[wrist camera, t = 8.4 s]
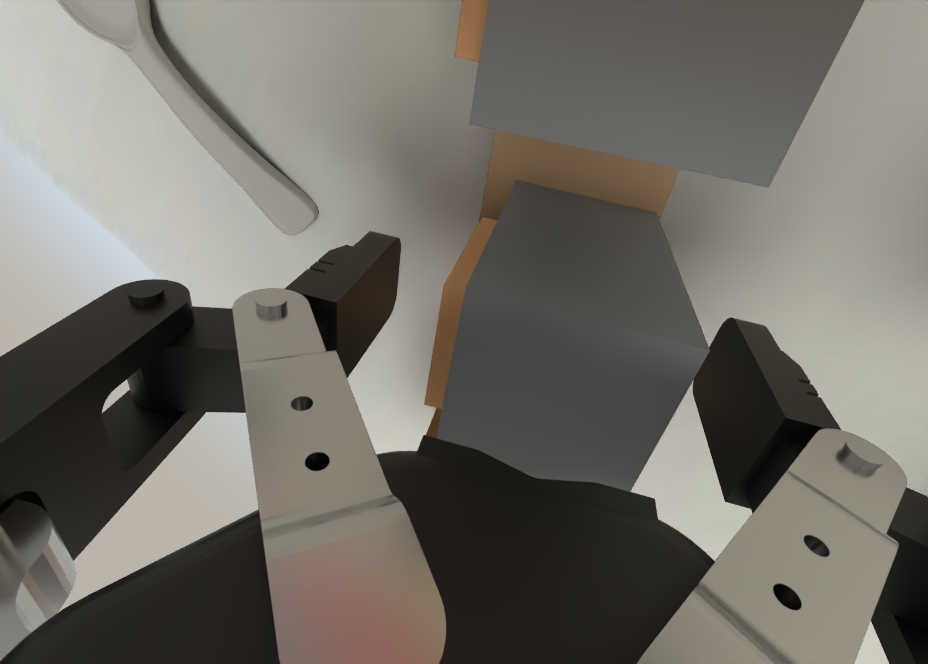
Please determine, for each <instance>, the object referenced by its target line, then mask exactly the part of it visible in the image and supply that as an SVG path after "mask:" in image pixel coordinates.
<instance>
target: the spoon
mask: <svg viewBox="0 0 928 664" xmlns="http://www.w3.org/2000/svg"><path fill="white" fill-rule="evenodd" d="M56 1H57V2H58V3H59V4H60V6H61V7H62V8H63V9H64V10H65V11H66V12H67V13H68V14H69V15H70V16H71V17H72V18H73V19H74V20H75V21H76V22H77V23H78V24H79V25H80V26H82V27H83V28H84V29H85V30H87V31H88V32H90V33H91V34H93V35H94V36H96V37H98V38H100V39H102V40H104V41H107V42H109V43H111V44H114V45H115V46H117V47H119V48H120V49H121V50H123V51H124V52H125V53H126V54H127V55H128V56H129V57H130V58H131V59H132V60H133V62H134V63H135V64H136V65H137V66H138V68H139V69H140V70H141V71H142V73H143V74H144V75H145V76H146V78H147V79H148V80H149V81H150V83H151V84H152V85H153V86H154V88H155V89H156V90H157V92H158V93H159V94H160V95H161V97H162V98H163V99H164V100H165V102H166V103H167V104H168V105H169V107H170V108H171V109H172V111H173V112H174V113H175V114H176V115H177V117H178V118H179V119H180V120H181V121H182V123H183V124H184V125H185V126H186V128H187V129H188V130H189V131H190V132H191V134H192V135H193V136H194V137H195V138H196V139H197V140H198V141H199V142H200V144H201V145H202V146H203V147H204V148H205V149H206V150H207V151H208V152H209V153H210V154H211V156H212V157H213V158H214V159H215V160H216V161H217V162H218V163H219V164H220V165H221V166H222V167H223V168H224V169H225V170H226V171H227V172H228V173H229V174H230V175H231V177H232V178H233V179H234V180H235V181H236V182H237V183H238V184H239V185H240V186H241V187H242V188H243V189H244V190H245V192H246V193H247V194H248V195H249V196H250V197H251V199H252V200H253V201H254V202H255V203H256V204H257V206H258V207H259V208H260V209H261V210H262V211H263V213H264V214H265V215H266V216H267V217H268V218H269V219H270V220H271V222H272V223H273V224H274V225H275V226H276V227H277V228H278V229H280V230H281V231H282V232H283V233H285V234H287V235H296V234H298V233H300V232H301V231H303V230H304V229H305V228H307V227H308V226H309V225H310V224H311V223H312V222H313V221H314V220H315V219H316V218H317V216H318V213H319V212H318V208H317V206H316V204H315V203H314V202H313V201H312V200H311V198H310V197H309V196H307V195H306V194H305V193H304V192H303V191H302V190H301V189H300V188H299V187H297V186H296V185H295V184H294V183H293V182H291V181H290V180H289V179H288V178H286V177H285V176H284V175H283V174H281V173H280V172H279V171H278V170H277V169H275V168H274V167H273V166H272V165H271V164H269V163H268V162H267V161H266V160H265V159H264V158H263V157H262V156H260V155H259V154H258V153H257V152H256V151H255V150H254V149H253V148H252V147H250V146H249V145H248V144H247V143H246V142H245V141H244V140H243V139H242V138H241V137H240V136H239V135H238V134H237V133H236V132H235V131H233V130H232V129H231V128H230V127H229V126H228V125H227V124H226V123H225V122H224V121H223V120H222V119H221V118H220V117H219V116H218V115H217V114H216V113H215V112H214V111H213V110H212V109H211V108H210V107H209V106H208V105H207V104H206V103H205V102H204V101H203V100H202V98H201V97H200V96H199V95H198V94H197V93H196V92H195V91H194V90H193V89H192V88H191V87H190V85H189V84H188V83H187V82H186V81H185V79H184V78H183V77H182V76H181V74H180V73H179V72H178V70H177V69H176V68H175V67H174V65H173V64H172V63H171V61H170V60H169V59H168V57H167V56H166V54H165V53H164V51H163V50H162V48H161V47H160V45H159V43H158V42H157V40H156V38H155V35H154V32H153V29H152V24H151V17H150V4H149V0H56Z"/></svg>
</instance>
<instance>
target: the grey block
mask: <svg viewBox="0 0 928 664" xmlns="http://www.w3.org/2000/svg"><path fill="white" fill-rule="evenodd" d="M709 351H710V349H709V347H708V344H707V342H706V339H705V337H704V334H703V331H702V329H701V326H700V324H699V321H698V319H697V316H696V314H695V311H694V308H693V306H692V303H691V301H690V298H689V296H688V293H687V291H686V288H685V285H684V283H683V280H682V278H681V275H680V273H679V270H678V268H677V265H676V262H675V260H674V257H673V255H672V252H671V250H670V247H669V245H668V242H667V239H666V237H665V234H664V232H663V229H662V227H661V224H660V222H659V219H658V216H657V214H656V212H651V211H647V210H643V209H639V208H634V207H630V206H626V205H621V204H617V203H613V202H609V201H604V200H600V199H596V198H591V197H587V196H583V195H579V194H574V193H570V192H566V191H562V190H557V189H553V188H549V187H544V186H540V185H536V184H532V183H527V182H523V181H519V180H516V182H515V184H514V186H513V188H512V190H511V192H510V195H509V197H508V199H507V201H506V203H505V205H504V207H503V209H502V212H501V214H500V216H499V218H498V220H493V219H489V218H485V217H482V219H481V220H480V222H479V224H478V226H477V228H476V229H475V231H474V233H473V235H472V236H471V238H470V240H469V242H468V244H467V245H466V247H465V249H464V251H463V252H462V254H461V256H460V258H459V260H458V261H457V263H456V265H455V267H454V269H453V270H452V272H451V274H450V276H449V277H448V279H447V281H446V283H445V285H444V288H443V294H442V300H441V306H440V312H439V318H438V324H437V330H436V336H435V343H434V349H433V355H432V361H431V367H430V373H429V379H428V385H427V391H426V397H425V403H424V404H425V405H428V406H432V407H435V408H439V409H442V411H441V416H440V422H439V427H438V432H437V437H436V438H437V439H440V440H444V441H448V442H451V443H455V444H459V445H462V446H466V447H469V448H473V449H477V450H480V451H482V452H484V453H486V454H488V455H490V456H492V457H494V458H496V459H498V460H499V461H501V462H503V463H505V464H507V465H509V466H511V467H513V468H515V469H517V470H519V471H521V472H523V473H525V474H527V475H529V476H532V477H535V478H539V479H551V480H566V481H581V482H596V483H600V484H603V485H607V486H611V487H614V488H618V489H622V490H625V491H629V492H630V491H631V489H632V487H633V486H634V484H635V482H636V480H637V479H638V477H639V475H640V473H641V472H642V470H643V468H644V466H645V464H646V463H647V461H648V459H649V457H650V456H651V454H652V452H653V450H654V449H655V447H656V445H657V443H658V441H659V440H660V438H661V436H662V434H663V433H664V431H665V429H666V427H667V426H668V424H669V422H670V420H671V419H672V417H673V415H674V413H675V411H676V410H677V408H678V406H679V404H680V403H681V401H682V399H683V397H684V396H685V394H686V392H687V390H688V388H689V387H690V385H691V383H692V381H693V380H694V378H695V376H696V374H697V373H698V371H699V369H700V367H701V365H702V364H703V362H704V360H705V358H706V357H707V355H708V353H709Z"/></svg>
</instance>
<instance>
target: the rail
mask: <svg viewBox="0 0 928 664" xmlns="http://www.w3.org/2000/svg"><path fill="white" fill-rule="evenodd" d="M863 2H864V0H462V6H461V14H460V21H459V29H458V37H457V45H456V53H455V57H459V58H464V59H469V60H474V61H479V66H478V72H477V79H476V85H475V92H474V98H473V105H472V112H471V118H470V124H471V125H476V126H481V127H485V128H490V129H495V130H496V131H495V137H494V142H493V148H492V153H491V159H490V164H489V170H488V175H487V181H486V186H485V192H484V197H483V203H482V208H481V214H480V219H479V222H480V220H481V219H482V217H485V218H489V219H493V220H498V218H499V216H500V214H501V212H502V209H503V207H504V205H505V203H506V201H507V199H508V197H509V195H510V192H511V190H512V188H513V186H514V184H515V182H516V180H519V181H523V182H527V183H532V184H536V185H540V186H544V187H549V188H553V189H557V190H562V191H566V192H570V193H574V194H579V195H583V196H587V197H591V198H596V199H600V200H604V201H609V202H613V203H617V204H621V205H626V206H630V207H634V208H639V209H643V210H647V211H651V212H656V214H657V216H658V219H660V217H661V214H662V212H663V209H664V207H665V204H666V202H667V199H668V197H669V194H670V192H671V189H672V187H673V184H674V182H675V179H676V177H677V174H678V172H679V169H684V170H689V171H693V172H698V173H703V174H707V175H712V176H717V177H722V178H726V179H731V180H736V181H741V182H745V183H750V184H755V185H759V186H764V187H769V186H770V184H771V182H772V180H773V178H774V176H775V174H776V172H777V170H778V168H779V166H780V164H781V162H782V161H783V159H784V157H785V155H786V153H787V151H788V149H789V147H790V145H791V143H792V141H793V139H794V137H795V135H796V133H797V131H798V129H799V127H800V125H801V123H802V121H803V120H804V118H805V116H806V114H807V112H808V110H809V108H810V106H811V104H812V102H813V100H814V98H815V96H816V94H817V92H818V90H819V88H820V86H821V84H822V82H823V80H824V79H825V77H826V75H827V73H828V71H829V69H830V67H831V65H832V63H833V61H834V59H835V57H836V55H837V53H838V51H839V49H840V47H841V45H842V43H843V41H844V39H845V38H846V36H847V34H848V32H849V30H850V28H851V26H852V24H853V22H854V20H855V18H856V16H857V14H858V12H859V10H860V8H861V6H862V4H863ZM441 411H442V409H439V408H437V409H436V411H435V414H434V416H433V419H432V421H431V424H430V426H429V429H428V431H427V434H426V436H430V437H433V438H436V437H437V432H438V427H439V422H440V416H441Z"/></svg>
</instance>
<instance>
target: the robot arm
mask: <svg viewBox="0 0 928 664" xmlns="http://www.w3.org/2000/svg"><path fill="white" fill-rule="evenodd" d="M400 253H401V241H400V239H399V238H397V237H393V236H388V235H384V234H380V233H376V232H371V231H370V232H369V233H367V234H366V235H365V236H364V237H363V238H362V239H361V240H360V241H359V242H358V243H356V244H355V245H354V246H349V245H345V246H342V247H339V248H336V249H333V250H330V251H329V252H327V253H326V254H325V255H324V256H323V257H321V258H320V259H319V261H318V262H316V263H314V264H313V265H312V266H311V267H310V269H307V270H306V271H305V272H304V273H303V274H301V275H300V276H299V277H298V278H297V279H296V280H294V281H293V282H292V283H291V284H290V285H289V286H287V287H286V288H285V289H279V288H267V289H260V290H255V291H252V292H249V293H246V294H244V295H242V296H241V297H239V298H238V299H237V300H236V301H235V302H234V304H233V307H232V309H226V308H209V307H192V303H191V297H190V292H189V290H188V289H187V288H186V287H185V286H183V285H182V284H180V283H177V282H173V281H168V280H141V281H136V282H131V283H127V284H124V285H121V286H119V287H116V288H114V289H112V290H111V291H109V292H107V293H106V294H104V295H103V296H101V297H99V298H98V299H96V300H94V301H92V302H91V303H89V304H88V305H86V306H84V307H82V308H81V309H79V310H77V311H76V312H74V313H72V314H71V315H69V316H67V317H66V318H64V319H62V320H61V321H59V322H57V323H56V324H54V325H52V326H51V327H49V328H47V329H46V330H44V331H43V332H41V333H39V334H37V335H36V336H34V337H32V338H31V339H29V340H27V341H26V342H24V343H23V344H21V345H19V346H17V347H16V348H14V349H12V350H11V351H9V352H7V353H6V354H4V355H3V356H1V357H0V664H854V663H855V660H856V657H857V655H858V652H859V650H860V647H861V644H862V642H863V639H864V636H865V634H866V631H867V629H868V626H869V623H870V621H871V622H872V624H873V626H874V629H875V631H876V633H877V636H878V638H879V640H880V643H881V645H882V647H883V650H884V652H885V654H886V657H887V659H888V661H889V664H928V497H927V496H925V495H922V494H920V493H918V492H916V491H914V490H911V489H909V488H907V487H906V486H907V478H906V475H905V473H904V472H903V470H902V469H901V467H900V466H899V465H898V464H897V463H896V462H895V461H894V460H893V459H892V458H891V457H890V456H889V455H888V454H886V453H885V452H884V451H883V450H881V449H880V448H878V447H877V446H875V445H874V444H872V443H870V442H869V441H867V440H865V439H863V438H861V437H859V436H857V435H854V434H852V433H849V432H846V431H842V430H841V429H840V427H839V425H838V424H837V422H836V421H835V419H834V418H833V416H832V415H831V413H830V411H829V410H828V408H827V407H826V405H825V404H824V402H823V401H822V399H821V398H820V397H818V393H817V391H816V390H815V388H814V387H813V385H811V384H810V380H809V379H808V377H807V376H806V374H805V373H804V371H803V370H802V368H801V367H800V366H799V365H798V364H797V363H796V362H795V361H794V360H792V359H791V358H790V357H789V356H788V355H787V354H785V353H784V352H783V351H781V350H780V348H779V347H778V345H777V343H776V342H775V340H774V339H773V337H772V335H771V334H770V332H769V330H768V329H767V327H766V326H764V325H760V324H756V323H751V322H747V321H743V320H739V319H735V318H728V319H727V320H726V321H725V322H724V323H723V324H722V325H721V327H720V329H719V331H718V333H717V334H716V336H715V338H714V340H713V342H712V344H711V345H710V347H709V349H710V351H709V353H708V355H707V357H706V358H705V360H704V362H703V364H702V365H701V367H700V369H699V371H698V373H697V374H696V376H695V378H694V382H693V395H694V399H695V402H696V406H697V409H698V412H699V416H700V419H701V422H702V426H703V429H704V432H705V436H706V439H707V443H708V446H709V449H710V453H711V456H712V459H713V463H714V466H715V469H716V473H717V476H718V480H719V483H720V486H721V490H722V493H723V496H724V500H725V502H728V503H732V504H735V505H739V506H743V507H746V508H750V509H751V510H752V515H751V516H750V517H749V518H748V520H747V521H746V522H745V523H744V525H743V526H742V527H741V529H740V530H739V531H738V532H737V534H736V535H735V536H734V537H733V539H732V540H731V541H730V543H729V544H728V545H727V546H726V548H725V549H724V550H723V551H722V553H721V554H720V555H719V556H718V558H717V559H716V560H715V561H714V560H713V559H712V558H711V557H710V556H709V555H708V554H707V553H706V552H705V551H703V550H702V549H701V548H700V547H699V546H697V545H696V544H695V543H694V542H693V541H692V540H690V539H689V538H687V537H686V536H685V535H683V534H682V533H680V532H679V531H678V530H676V529H674V528H673V527H671V526H669V525H668V524H666V523H664V522H662V521H660V520H658V517H657V510H656V503H655V499H654V498H650V497H647V496H643V495H640V494H636V493H632V492H629V491H625V490H622V489H618V488H614V487H611V486H607V485H603V484H600V483H596V482H581V481H566V480H551V479H539V478H535V477H532V476H529V475H527V474H525V473H523V472H521V471H519V470H517V469H515V468H513V467H511V466H509V465H507V464H505V463H503V462H501V461H499V460H498V459H496V458H494V457H492V456H490V455H488V454H486V453H484V452H482V451H480V450H477V449H473V448H469V447H466V446H462V445H459V444H455V443H451V442H448V441H444V440H440V439H437V438H433V437H430V436H426V435H424V436H423V438H422V441H421V443H420V446H419V448H418V451H395V452H388V453H381V454H377V455H376V453H375V450H374V448H373V445H372V442H371V440H370V437H369V434H368V432H367V429H366V427H365V424H364V421H363V419H362V416H361V414H360V411H359V408H358V406H357V403H356V401H355V398H354V395H353V393H352V390H351V388H350V385H349V382H348V380H347V378H348V376H349V375H350V373H351V372H352V371H353V369H354V368H355V366H356V365H357V363H358V362H359V360H360V359H361V358H362V356H363V355H364V353H365V352H366V350H367V349H368V347H369V346H370V345H371V343H372V342H373V340H374V339H375V337H376V336H377V334H378V333H379V331H380V330H381V329H382V327H383V326H384V324H385V323H386V321H387V320H388V318H389V317H390V315H391V313H392V311H393V308H394V305H395V301H396V296H397V286H398V275H399V264H400ZM126 379H127V381H128V384H129V387H130V390H129V391H128V392H126V393H125V394H124V395H123V396H122V397H121V398H120V399H118V400H117V401H116V402H115V403H114V404H113V405H111V406H110V407H109V408H108V409H107V410H106V411H104V412H103V413H102V409H103V406H104V403H105V401H106V399H107V397H108V396H109V395H110V393H111V392H112V391H113V390H114V389H115V388H117V387H118V386H119V385H120V384H121V383H123V382H124V381H125V380H126ZM206 412H238V413H239V412H240V413H246V416H247V424H248V432H249V440H250V447H251V455H252V462H253V469H254V477H255V485H256V492H257V500H258V508H259V509H258V510H257V511H255V512H253V513H251V514H249V515H247V516H245V517H243V518H241V519H239V520H237V521H235V522H233V523H231V524H229V525H227V526H225V527H223V528H221V529H219V530H217V531H215V532H213V533H211V534H209V535H207V536H205V537H203V538H201V539H199V540H197V541H195V542H193V543H191V544H189V545H187V546H185V547H183V548H181V549H179V550H177V551H175V552H173V553H171V554H169V555H167V556H166V557H163V558H161V559H159V560H157V561H155V562H153V563H151V564H150V565H148V566H146V567H144V568H142V569H140V570H138V571H136V572H134V573H132V574H130V575H128V576H126V577H124V578H122V579H120V580H118V581H116V582H114V583H112V584H110V585H108V586H106V587H104V588H102V589H100V590H98V591H96V592H94V593H92V594H90V595H88V596H86V597H84V598H83V599H81V600H79V601H77V602H75V603H74V604H72V605H70V606H68V607H66V608H65V609H63V610H62V611H60V612H59V613H57V612H58V611H59V610H60V608H61V607H62V605H63V604H64V602H65V601H66V599H67V598H68V596H69V594H70V592H71V590H72V588H73V585H74V582H75V577H76V568H75V564H74V562H73V561H74V560H75V559H76V557H77V556H78V555H79V554H80V553H81V552H82V551H83V550H84V548H85V547H86V546H87V545H88V544H89V543H90V542H91V541H92V540H93V538H94V537H95V536H96V535H97V534H98V533H99V532H100V531H101V529H102V528H103V527H104V526H105V525H106V524H107V523H108V522H109V521H110V519H111V518H112V517H113V516H114V515H115V514H116V513H117V512H118V510H119V509H120V508H121V507H122V506H123V505H124V504H125V503H126V501H127V500H128V499H129V498H130V497H131V496H132V495H133V494H134V493H135V491H136V490H137V489H138V488H139V487H140V486H141V485H142V484H143V482H144V481H145V480H146V479H147V478H148V477H149V476H150V475H151V474H152V472H153V471H154V470H155V469H156V468H157V467H158V466H159V465H160V463H161V462H162V461H163V460H164V459H165V458H166V457H167V455H168V454H169V453H170V452H171V451H172V450H173V449H174V448H175V447H176V445H177V444H178V443H179V442H180V441H181V440H182V439H183V438H184V437H185V436H186V434H187V433H188V432H189V431H190V430H191V429H192V428H193V427H194V425H195V424H196V423H197V422H198V421H199V420H200V419H201V417H202V416H203V415H204V414H205V413H206Z"/></svg>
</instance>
